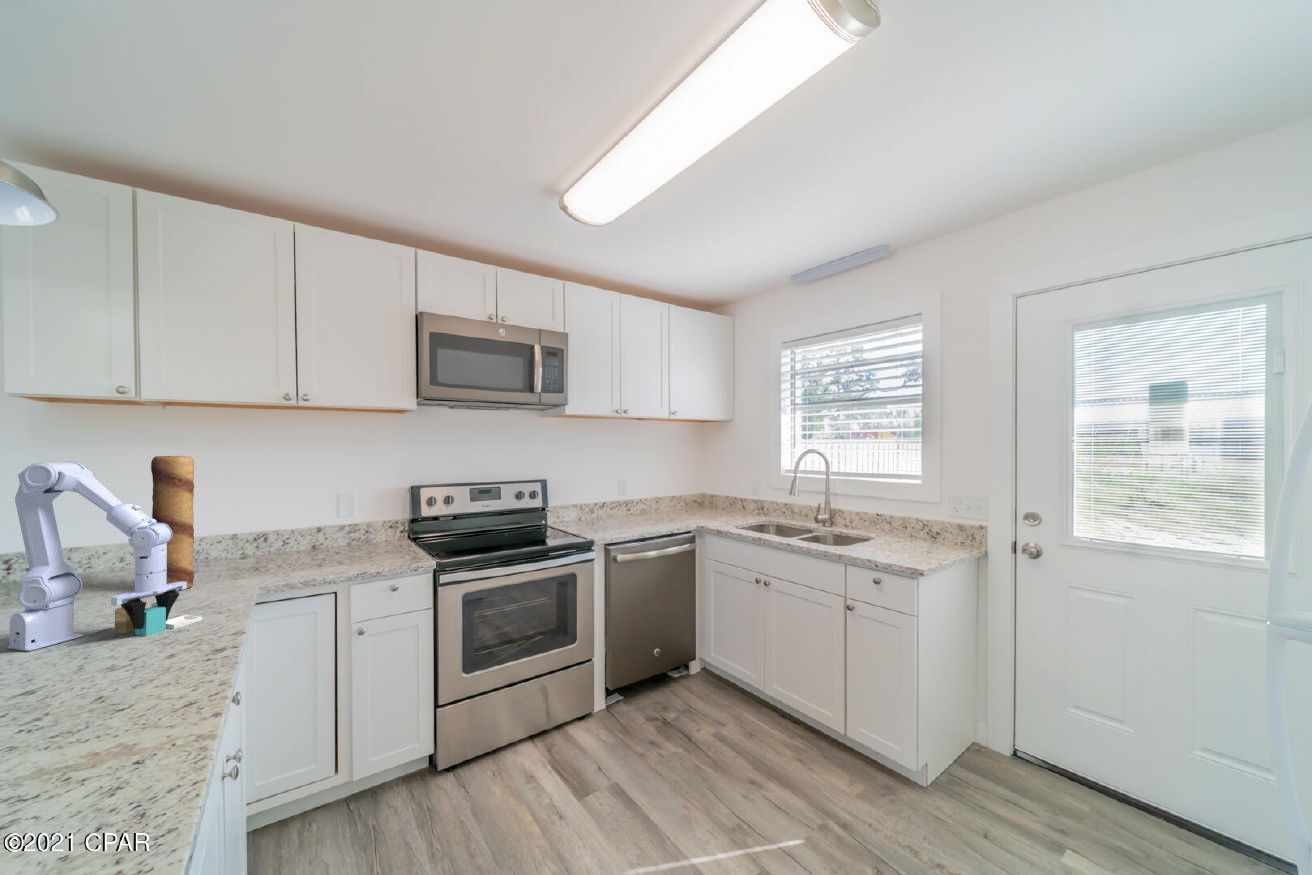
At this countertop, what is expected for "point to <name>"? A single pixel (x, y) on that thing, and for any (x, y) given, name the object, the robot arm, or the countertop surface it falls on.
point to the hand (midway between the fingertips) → (150, 624)
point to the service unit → (173, 609)
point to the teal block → (153, 621)
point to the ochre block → (122, 621)
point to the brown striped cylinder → (175, 512)
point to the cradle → (182, 621)
